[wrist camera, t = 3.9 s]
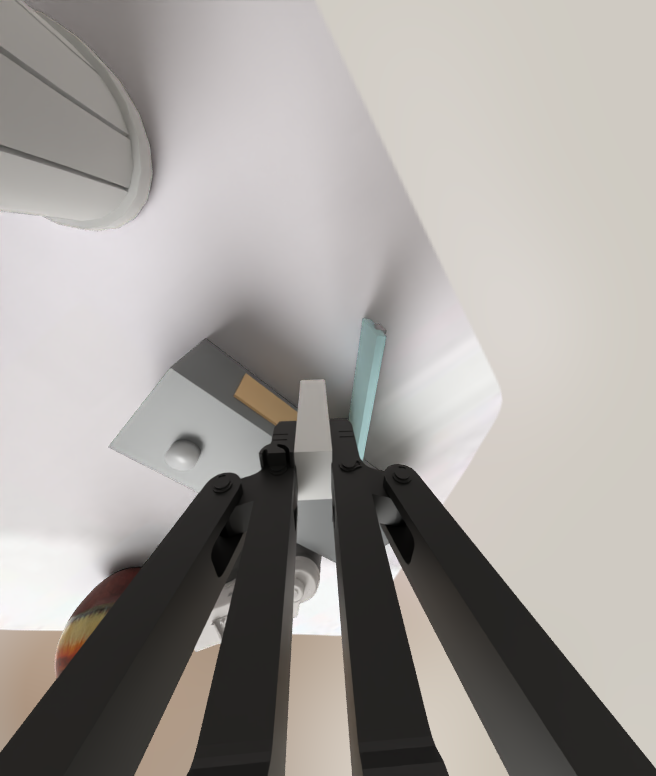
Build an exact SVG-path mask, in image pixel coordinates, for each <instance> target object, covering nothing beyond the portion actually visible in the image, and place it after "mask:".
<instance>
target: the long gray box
mask: <svg viewBox="0 0 656 776" xmlns="http://www.w3.org/2000/svg"><path fill="white" fill-rule="evenodd" d="M297 414H298V408H296V407H295V406H294V405H292V404H291V403H290V402H288V401H287V400H286V399H285V398H283V397H282V396H281V395H279V394H278V393H277V392H275V391H274V390H273V389H271V388H270V387H269V386H268V385H266V384H265V383H264V382H262V381H261V380H260V379H258V378H257V377H256V376H254V375H253V374H252V373H250V372H249V371H248V370H247V369H245V368H244V367H243V366H241V365H240V364H239V363H237V362H236V361H235V360H233V359H232V358H231V357H230V356H228V355H227V354H226V353H224V352H223V351H222V350H220V349H219V348H218V347H216V346H215V345H214V344H213V343H211V342H210V341H209V340H207V339H206V338H205V339H204V340H203V341H202V342H201V343H199V344H198V345H197V346H196V347H195V348H193V349H192V350H191V351H190V352H189V353H187V354H186V355H185V356H184V357H183V358H181V359H180V360H179V361H178V362H177V363H175V364H174V365H173V366H172V367H171V368H170V369H169V370H168V371H167V373H166V374H165V375H164V376H163V378H162V379H161V380H160V381H159V383H158V384H157V385H156V387H155V388H154V389H153V390H152V392H151V393H150V394H149V396H148V397H147V398H146V399H145V401H144V402H143V403H142V404H141V406H140V407H139V408H138V410H137V411H136V412H135V413H134V415H133V416H132V417H131V418H130V420H129V421H128V422H127V424H126V425H125V426H124V427H123V429H122V430H121V431H120V432H119V434H118V435H117V436H116V438H115V439H114V440H113V441H112V443H111V444H110V445H109V446H108V447H109V448H111V449H113V450H115V451H117V452H119V453H121V454H123V455H125V456H127V457H128V458H130V459H132V460H134V461H136V462H138V463H140V464H142V465H144V466H146V467H148V468H150V469H152V470H154V471H156V472H158V473H160V474H162V475H164V476H166V477H168V478H170V479H172V480H174V481H176V482H178V483H180V484H182V485H184V486H186V487H188V488H190V489H191V490H193V491H195V492H197V493H199V492H200V491H201V490H202V488H203V487H204V486H205V484H206V483H207V482H208V481H209V480H210V479H211V478H213V477H215V476H216V475H218V474H222V473H229V472H232V473H235V474H237V475H238V476H239V477H240V479H241V478H244V477H247V476H251V475H253V474H256V473H257V472H259V471H260V470H261V465H260V459H259V452H260V450H261V449H262V448H263V447H264V446H266V445H268V444H270V443H271V441H272V436H273V431H274V427H275V426H276V425H277V424H278V423H279V421H297ZM363 463H364V464H365V465H367V466H368V467H370V468H373V469H376V468H375V467H374V466H372V465H371V464H370V463H368V462H367V461H366V460H364V459H363ZM377 470H378V469H377ZM297 505H298V523H297V542H296V543H298V544H300V545H302V546H304V547H306V548H308V549H310V550H312V551H314V552H316V553H318V554H320V555H321V556H323V557H325V558H327V559H329V560H331V561H333V562H335V563H336V555H335V541H334V528H333V522H332V499H318V500H298V501H297ZM379 525H380V523H379ZM380 529H381V533H382V537H383V541H384V546H385V545H387V544H389V542H388V540H387V538H386V536H385V534H384V532H383V530H382V528H381V526H380Z"/></svg>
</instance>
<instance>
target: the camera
mask: <svg viewBox="0 0 656 776" xmlns="http://www.w3.org/2000/svg"><path fill="white" fill-rule="evenodd" d="M243 546H244V545H243ZM242 550H243V547H242V549H241V551H240V553H239V556H238V558H237V560H236V562H235V564H234V566H233V568H232V570H231V572H230V575H229V577H228V579H227V581H226V583H225V585H224V587H223V589H222V591H221V593H220V596H219V598H218V600H217V602H216V604H215V606H214V608H213V610H212V612H211V615H210V617H209V619H208V621H207V623H206V625H205V627H204V629H203V631H202V633H201V636H200V638H199V640H198V642H197V644H196V646H195V648H194V649H195V651H196V652H197V651H199V650H202V649H205V648H208V647H211V646H214V645H216V644H219V643H220V644H221V641H222V637H223V632H224V628H225V624H226V619H227V615H228V611H229V606H230V602H231V598H232V593H233V589H234V585H235V580H236V576H237V572H238V568H239V563H240V559H241V555H242ZM320 564H321V555H320V554H318V553H316V552H314V551H312V550H310V549H308V548H306V547H304V546H302V545H300V544H298V543H296V562H295V582H294V602H293V618H295V617H297V615H298V610H299V604H300V603H303V602H305V601H308V600H309V599H311V598H312V597H313V596H314V594H315V593H316V590H317V588H318V586H319V580H320Z"/></svg>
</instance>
